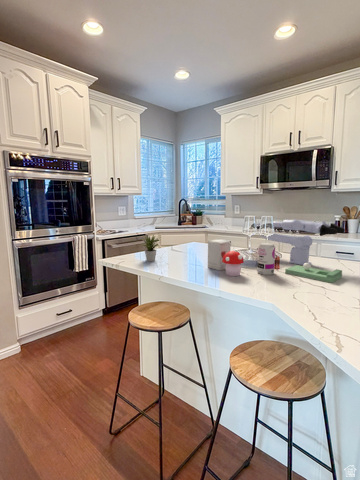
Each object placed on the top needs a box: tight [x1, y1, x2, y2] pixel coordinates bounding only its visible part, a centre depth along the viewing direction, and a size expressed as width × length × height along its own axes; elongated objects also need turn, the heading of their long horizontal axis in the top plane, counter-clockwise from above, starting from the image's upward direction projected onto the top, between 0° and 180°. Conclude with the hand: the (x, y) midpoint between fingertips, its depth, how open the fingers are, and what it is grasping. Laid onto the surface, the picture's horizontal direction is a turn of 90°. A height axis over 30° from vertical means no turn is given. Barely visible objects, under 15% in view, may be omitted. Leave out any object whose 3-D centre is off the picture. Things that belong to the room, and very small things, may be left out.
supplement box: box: [207, 238, 232, 271], centre depth 149 cm, size 9×9×15 cm
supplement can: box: [256, 242, 276, 276], centre depth 138 cm, size 8×8×15 cm
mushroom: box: [222, 249, 245, 277], centre depth 136 cm, size 11×11×12 cm
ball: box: [302, 263, 312, 270], centre depth 136 cm, size 4×4×4 cm
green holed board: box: [284, 264, 343, 284], centre depth 134 cm, size 22×12×4 cm, turn 42°
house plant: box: [140, 234, 162, 262], centre depth 166 cm, size 14×14×16 cm
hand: (340, 231), depth 138 cm, fingers open, 7 cm apart
